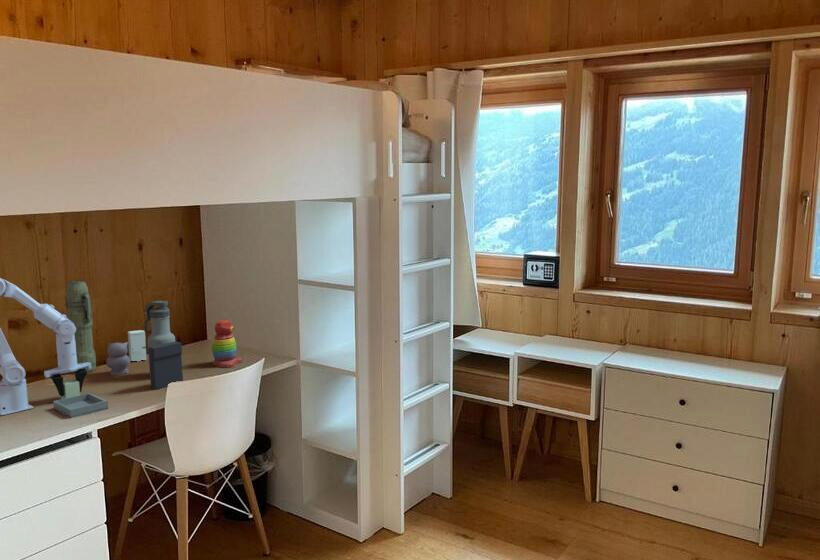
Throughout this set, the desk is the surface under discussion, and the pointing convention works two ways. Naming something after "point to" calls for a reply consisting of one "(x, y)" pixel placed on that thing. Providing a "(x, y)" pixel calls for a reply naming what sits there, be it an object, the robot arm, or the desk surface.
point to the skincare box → (137, 345)
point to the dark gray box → (165, 364)
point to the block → (70, 388)
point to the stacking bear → (224, 345)
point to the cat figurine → (117, 358)
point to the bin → (80, 405)
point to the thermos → (81, 321)
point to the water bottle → (158, 324)
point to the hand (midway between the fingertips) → (70, 393)
